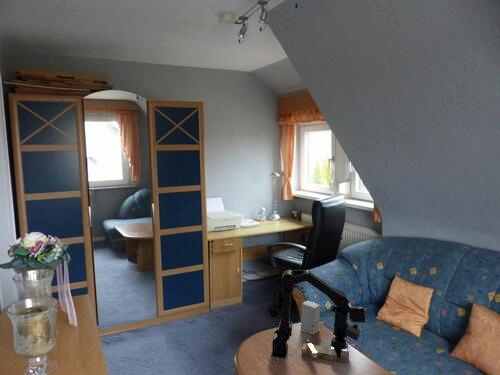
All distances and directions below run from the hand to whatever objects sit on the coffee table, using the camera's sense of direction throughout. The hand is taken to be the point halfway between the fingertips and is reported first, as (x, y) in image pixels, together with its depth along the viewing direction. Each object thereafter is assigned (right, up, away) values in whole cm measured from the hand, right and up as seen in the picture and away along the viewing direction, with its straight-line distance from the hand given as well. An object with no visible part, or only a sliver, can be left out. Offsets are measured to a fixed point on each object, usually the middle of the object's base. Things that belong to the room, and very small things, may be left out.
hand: (339, 353), depth 168 cm
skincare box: (-9, 0, +26) cm, 28 cm away
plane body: (-6, -3, +2) cm, 7 cm away
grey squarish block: (0, 0, 0) cm, 0 cm away
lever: (-13, +1, +1) cm, 13 cm away
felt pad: (-3, -2, +10) cm, 10 cm away
